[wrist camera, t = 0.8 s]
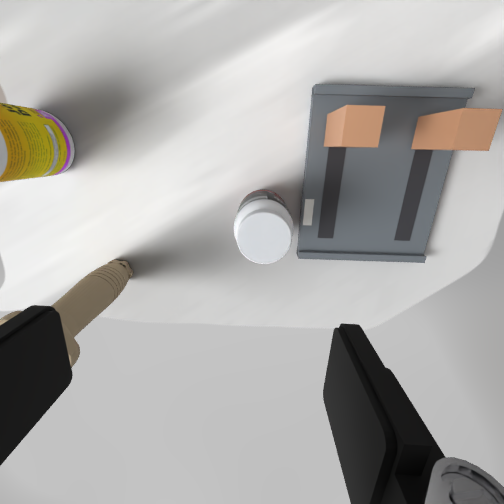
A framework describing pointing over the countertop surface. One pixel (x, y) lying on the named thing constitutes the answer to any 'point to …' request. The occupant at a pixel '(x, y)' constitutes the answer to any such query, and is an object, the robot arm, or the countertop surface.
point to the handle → (87, 301)
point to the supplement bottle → (32, 144)
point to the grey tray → (373, 177)
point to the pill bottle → (263, 227)
